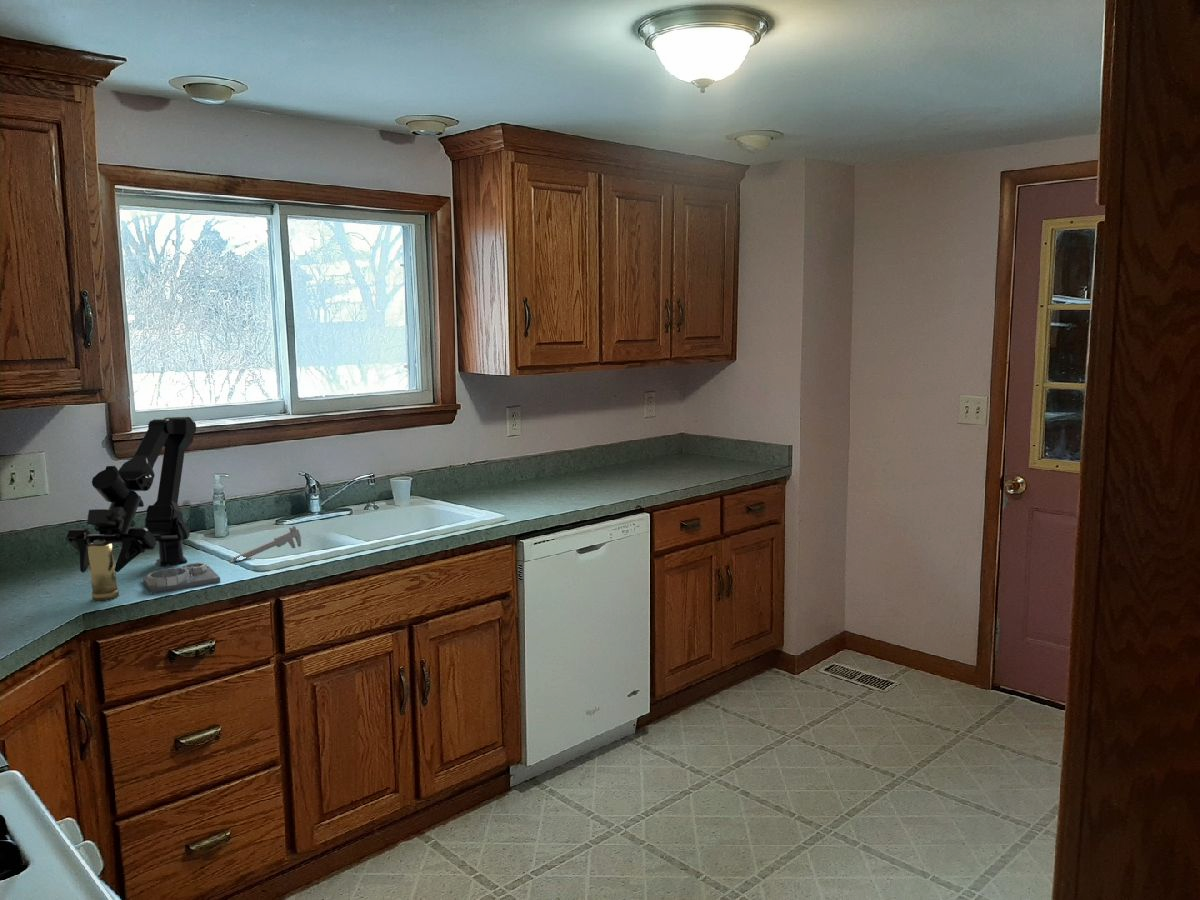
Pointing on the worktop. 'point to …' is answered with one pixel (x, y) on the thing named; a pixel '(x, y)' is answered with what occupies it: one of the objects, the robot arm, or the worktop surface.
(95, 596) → the brass cylinder
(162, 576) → the plate
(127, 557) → the robot arm
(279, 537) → the caliper
